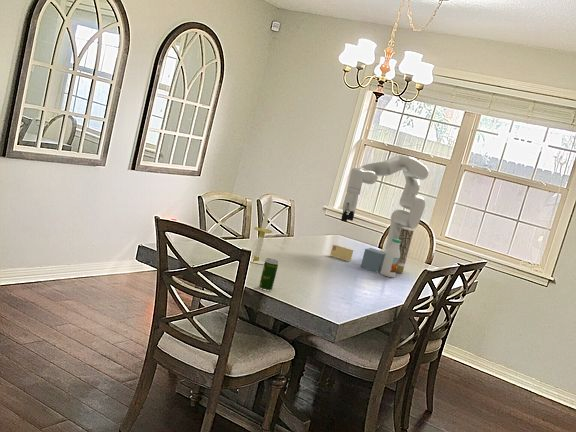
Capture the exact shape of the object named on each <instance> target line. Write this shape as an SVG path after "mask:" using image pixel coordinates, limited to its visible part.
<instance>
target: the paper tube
mask: <svg viewBox="0 0 576 432" xmlns="http://www.w3.org/2000/svg"><path fill="white" fill-rule="evenodd" d="M414 231H415V229H411V228H407V227H402V228H401V232H400V236H399V240H401V243H400V245H399V249H400V259H399V263H398V267H397V270H396V272H397V273H398V274H402V273H403V272H404V269H405V266H406V262H407V258H408V255H409V251H410V246H411V242H412V238H413V235H414Z"/></svg>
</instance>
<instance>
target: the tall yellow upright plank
mask: <svg viewBox="0 0 576 432" xmlns="http://www.w3.org/2000/svg"><path fill="white" fill-rule="evenodd" d="M353 252H354V249H351V248H347V247H345V246H341V245H337V244H335V243H333V244H332V246H331V251H330V253H329V254H330V256H332V257H335V258H338V259H341V260H344V261H347V262H351V261H352V258H353V257H352V256H353Z"/></svg>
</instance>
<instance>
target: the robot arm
mask: <svg viewBox="0 0 576 432" xmlns="http://www.w3.org/2000/svg"><path fill="white" fill-rule="evenodd" d="M400 171H402V173H403V175H404V178H405V185H404V188H403V191H402V193H401V196H400V199H399V206H400V207H401V208H402V209H396V210H394V211H393V212H392V213H391V216H390V223H389V229H388V234H387V238H386V242H385V245H384V249H383V252H387V250H388V249H389V247H390V246H391V244H392V239H393V238H395V239H399V236H400V232H401V228H402V227H407V228H411V229H413V230H415V229H416V228H417V227H418V225H419V224H420V221H421V219H422V217H423V213H424V211H425V207H426V201H425V199H424V197H423V196H421V195H418V194H419V192H420V189H421V187H420V186H421V184H420V183H421V182H420V181H424V180H426V179H427V178H428V177H429V172H430V171H429V169H428V167H427V166H426V165H424V164H423V163H422V162H421V161H420V160H418V159H416V158H414V157H413V156H409V155H405V154H398V155H395V156H392V157H391V158H388V159H386V160H383V161H379V162H372V163H367V164H366V163H365V164H364V165H361V166H359V167H352V168H351V170H350V174H349V179H348V182H347V187H346V191H345V192H346V194H345V197H344V199H343V204H342V215H341V219H340V220H341V221H342V222H345V223H346V222H348V221H351V222H353V220H354V218H355V217H354V216H355V213H356V209H357V204H358V201H359V195H361V192H362V191H361V190H362V186H363V184H367V185H374V184H375V183H376V182H377V181H378V176H379V177H386V176H387V177H388V176H392V175H394V174H395V173H397V172H400ZM403 209H406V210H409V211H406V210H403Z"/></svg>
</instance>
